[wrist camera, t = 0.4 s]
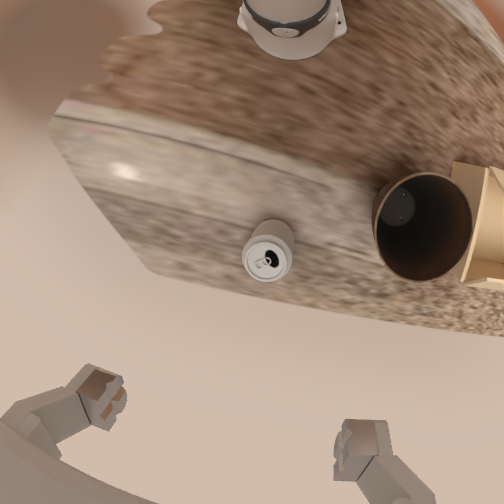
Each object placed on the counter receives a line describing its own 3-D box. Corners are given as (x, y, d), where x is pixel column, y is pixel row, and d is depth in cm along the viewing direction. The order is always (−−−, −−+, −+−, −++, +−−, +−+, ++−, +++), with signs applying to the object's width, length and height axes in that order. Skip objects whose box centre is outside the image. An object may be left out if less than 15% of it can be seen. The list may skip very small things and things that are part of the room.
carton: (452, 160, 46) (485, 167, 35) (520, 182, 43) (556, 193, 32) (435, 255, 52) (460, 281, 41) (502, 265, 50) (531, 290, 39)
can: (301, 248, 56) (299, 275, 45) (264, 264, 58) (253, 293, 47) (284, 211, 55) (277, 229, 43) (246, 228, 57) (230, 250, 46)
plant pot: (421, 153, 47) (461, 158, 32) (440, 231, 50) (480, 262, 36) (344, 178, 51) (359, 192, 36) (369, 256, 55) (388, 297, 40)
